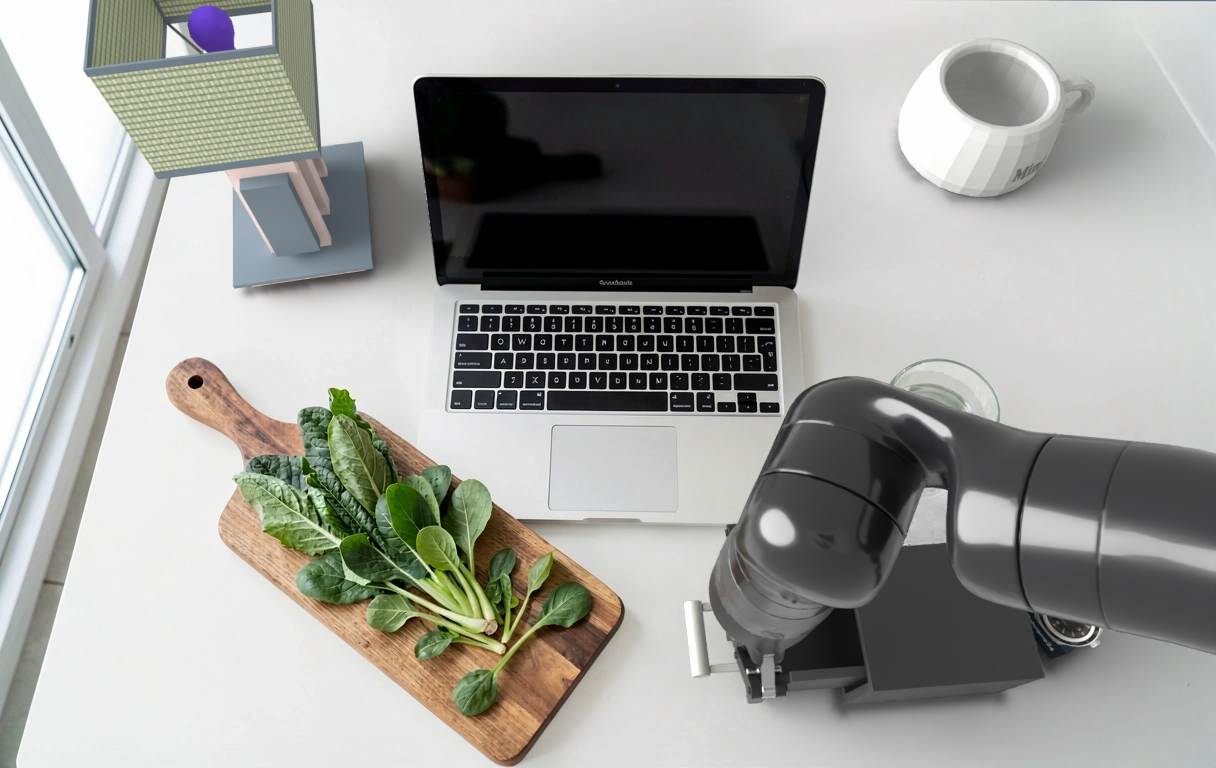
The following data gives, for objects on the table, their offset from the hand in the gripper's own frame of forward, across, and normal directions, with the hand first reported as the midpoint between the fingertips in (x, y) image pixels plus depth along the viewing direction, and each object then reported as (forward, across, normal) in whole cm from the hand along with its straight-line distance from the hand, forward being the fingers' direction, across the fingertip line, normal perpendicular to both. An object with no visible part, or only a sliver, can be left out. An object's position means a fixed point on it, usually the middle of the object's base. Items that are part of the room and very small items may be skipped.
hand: (738, 630), depth 72 cm
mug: (+8, +54, -37) cm, 66 cm away
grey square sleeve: (+8, 0, -16) cm, 18 cm away
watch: (+9, 0, -29) cm, 30 cm away
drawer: (+7, 0, -5) cm, 9 cm away
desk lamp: (+8, +48, +40) cm, 63 cm away
